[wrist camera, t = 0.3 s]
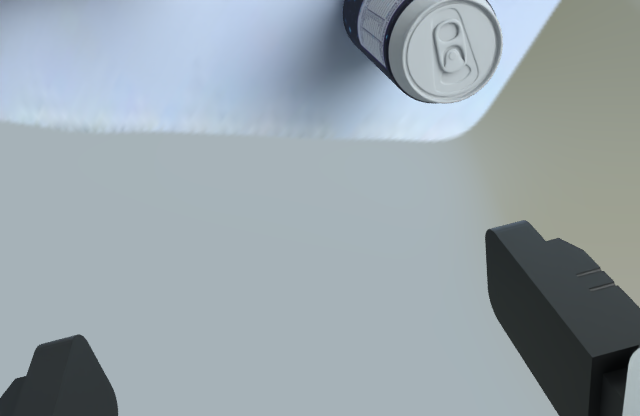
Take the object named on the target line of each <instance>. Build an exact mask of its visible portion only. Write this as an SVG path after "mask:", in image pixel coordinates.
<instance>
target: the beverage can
mask: <svg viewBox="0 0 640 416" xmlns="http://www.w3.org/2000/svg"><path fill="white" fill-rule="evenodd" d="M343 21H344V26H345V29H346V31H347V34H348V36H349V37H350V39H351V40H352V42H353V43H354V44H355V45H356V46H357V47H358V48H359V49H360V50H361V51H362V52H363V53H364V54H365V55H366V56H367V57H368V58H369V59H370V60H371V61H372V62H373V63H374V64H375V65H376V66H377V67H378V68H379V69H380V70H381V71H382V72H383V73H384V74H385V75H386V76H387V77H388V78H389V79H390V80H391V81H392V82H393V83H394V84H395V85H396V86H397V87H398V88H399V89H400V90H402V91H403V92H404V93H405V94H406V95H408V96H409V97H411V98H413V99H415V100H418V101H421V102H425V103H454V102H458V101H461V100H464V99H467V98H469V97H470V96H472V95H474V94H475V93H477V92H478V91H479V90H481V89H482V88H483V87H484V86H485V85H486V84H487V82H488V81H489V80H490V79H491V77H492V76H493V74H494V72H495V71H496V69H497V66H498V64H499V62H500V58H501V54H502V48H503V37H502V31H501V27H500V24H499V22H498V20H497V18H496V15H495V13H494V10H493V8H492V7H491V5H490V4H489V2H488V1H487V0H345V1H344V6H343Z"/></svg>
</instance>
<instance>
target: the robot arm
mask: <svg viewBox="0 0 640 416" xmlns="http://www.w3.org/2000/svg"><path fill="white" fill-rule="evenodd" d="M485 242H486V262H487V279H488V280H487V281H488V293H489V298H490V302H491V305H492V308H493V310H494V313H495V315H496V317H497V319H498V321H499V322H500V324H501V325H502V327H503V329H504V330H505V332H506V333H507V335H508V337H509V338H510V340H511V341H512V343H513V344H514V346H515V347H516V349H517V350H518V352H519V353H520V355H521V357H522V358H523V360H524V361H525V363H526V365H527V366H528V368H529V369H530V371H531V372H532V374H533V375H534V377H535V378H536V380H537V382H538V383H539V385H540V386H541V388H542V389H543V391H544V393H545V394H546V396H547V397H548V399H549V400H550V402H551V404H552V405H553V407H554V408H555V410H556V411H557V413H558V414H559V416H640V308H639V307H638V306H637V305H636V304H635V303H634V302H633V300H632V299H630V297H629V296H628V295H627V294H626V293H625V292H624V291H623V290H622V289H621V288H620V287H619V286H615V284H614V281H613V280H612V279H611V278H610V277H609V276H608V275H607V274H606V273H605V272H604V271H601V269H600V267H599V266H598V265H597V264H596V263H595V262H594V261H593V259H592V258H591V257H589V255H588V254H587V253H586V252H585V251H584V250H582V249H580V248H578V247H576V246H574V245H572V244H570V243H568V242H566V241H564V240H562V239H560V238H557V239H553V240H549V241H545V240H544V239H543V238H542V236H541V235H540V234H539V233H538V232H537V231H536V230H535V229H534V228H533V226H532V225H531V224H530V223H529V222H527V221H525V220H523V221H519V222H515V223H511V224H507V225H503V226H499V227H496V228H492V229H488V230H487V232H486V235H485ZM0 416H118V406H117V400H116V396H115V393H114V390H113V388H112V386H111V384H110V382H109V380H108V378H107V376H106V375H105V373H104V371H103V369H102V368H101V366H100V364H99V362H98V360H97V358H96V356H95V355H94V353H93V351H92V349H91V347H90V346H89V344H88V342H87V340H86V339H85V338H84V337H83V336H82V335H75V336H71V337H68V338H64V339H59V340H55V341H52V342H48V343H44V344H41V345H39V346H38V347H37V348H36V350H35V352H34V355H33V358H32V361H31V364H30V367H29V370H28V373H27V375H26V376H24V377H20V378H17V379H15V380H14V381H13V382H12V384H11V385H10V386H9V388H8V389H7V390H6V391H5V393H4V394H3V395H2V397H1V398H0Z"/></svg>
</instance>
